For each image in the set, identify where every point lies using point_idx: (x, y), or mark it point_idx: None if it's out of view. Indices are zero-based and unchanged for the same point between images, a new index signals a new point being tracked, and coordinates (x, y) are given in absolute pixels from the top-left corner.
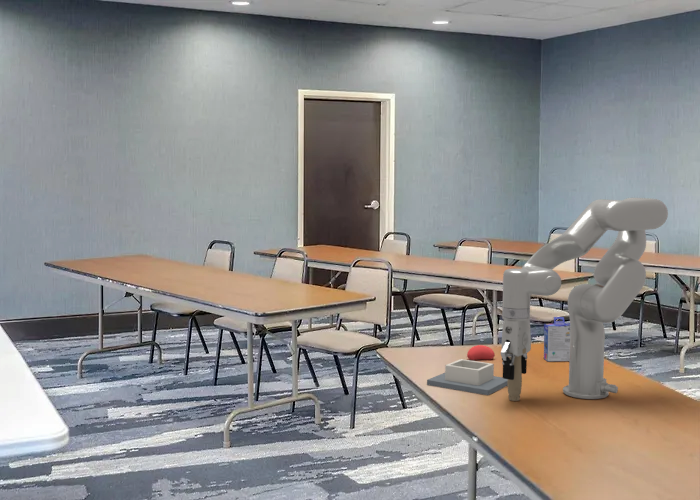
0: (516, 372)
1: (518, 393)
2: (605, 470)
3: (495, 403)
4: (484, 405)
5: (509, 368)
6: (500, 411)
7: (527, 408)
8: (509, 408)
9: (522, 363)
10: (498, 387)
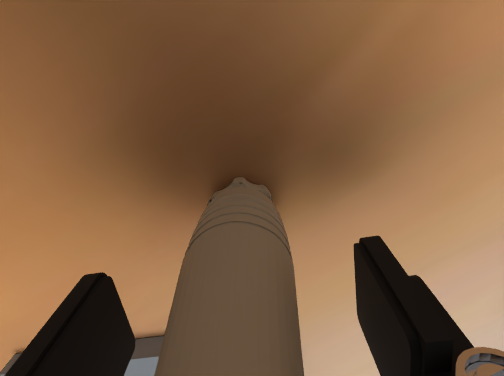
0: (280, 288)
1: (254, 190)
2: None
3: (363, 235)
4: (429, 251)
5: (464, 339)
6: (491, 138)
7: (341, 57)
8: (406, 135)
9: (72, 373)
10: (149, 348)
